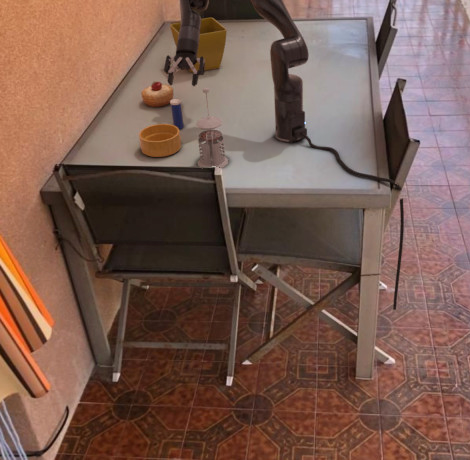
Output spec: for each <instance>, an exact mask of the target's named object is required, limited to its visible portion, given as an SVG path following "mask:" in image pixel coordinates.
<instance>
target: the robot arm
mask: <svg viewBox="0 0 470 460" xmlns="http://www.w3.org/2000/svg"><path fill="white" fill-rule="evenodd" d="M250 2H251V4H252V6H253V9H254V10H255V11H256V12H257V14H258V15H259V16H260V17H262V18H263V19H264V20H266V21H267V22H268V23H270V24H271V25H272V26H273V27H275V28H276V29H277V30H278V31H279V32H280V34H281V35H282V37H283V38H280V39H275V40H273V42H272V43H271V44H270V48H269V49H270V51H269V54H270V55H269V56H270V67H271V78H272V82H273V96H274V99H273V100H274V123H275V124H274V128H275V139H277V140H278V141H281V142H283V143H284V142H285V143H290V144H292V143H295V142H298V141H300V140H302V139H305V140H306V141H307V143H308V145H309V146H310V147H311V148H313V149H315V150H322V151H323V150H324V151H330V152H332V153H334V155H335V157H336V159H337V161H338V162H339V164H340V165H341V166H342V167H343V168H344V169H345V170H346V171H347V172H349V173H351V174H353V175H354V176H358V177H363V178H368V179H373V180H376V181H379V182H386V183H389V184H392V185H393V186H394V187H396V189H397V190H398V191H402V187H401V186H400V185H399V184H398V183H397V184H398V185H397V184H395V183H394V181H395V180H393V179H391V178H386V177H382V176H381V177H380V176H376V175H373V174H367V173H363V172H359V171H357V170H356V171H355V170H353V169H352V168H350V167H349V166H348V165H347V164H346V163H345V162H344V161H343V160H342V159H341V156H340V154H339V152H338V151H337V149H335V148H333V147H330V146H318V145H315V144H313V143H312V140H311V138H310V137H309V136H308V128H307V127H306V112H305V110H304V87H303V86H304V85H303V84H304V83H303V82H304V81H303V79H302V78H301V76H299V75H297V74H292V73H290V72H289V69H292V68H296V67H299V66H300V67H301V66H303V65H305V64H307V62H308V61H309V57H310V56H309V55H310V54H309V48H308V45H307V42H306V41H305V39H304V37H303V35H302V34H301V32H300V30H299V28H298V27H297V25H296V23H295V21H294V20H293V19H292V16H291V14H290V13H289V11H288V8H287V7H286V4H285V2H284V0H250ZM209 3H210V0H179V7H180V14H181V15H180V16H181V20H180V22H181V26H180V31H179V35H178V42H177V47H176V49H175V55H174V56H171V55H168V54H167V55H166V57H165V62H164V66H163V71H164V73H165V74H167V83H168V85H169V86H173V84H174V78H175V76H174V75H175V74H176V73H178V72H179V71H180V70H181V71H184V70H185V71H189V69H192V71H193V72H194V73H192V79H191V86H192V87H196V86H197V85H198V82H199V77H200V76H204V75H205V71H204V69H205V59H204V58H203V57H202V56H201V57H200V58H197V52H198V45H199V38H200V26H201V19H202V17H201V15H200V14H198V13H197V12H199V13H202V12H205V11H206V10H207V9H208V7H209ZM197 61H198V63H199V64H200V65H199V70H198V71H197V70H196V69H195V67H194V65H195V64H196V63H197ZM173 62H174V63H173ZM404 211H405V210H404V197H401V198H400V199H399V213H400V215H399V217H400V227H399V228H400V229H399V247H398V256H397V265H396V272H395V273H396V275H395V281H394V282H395V283H394V284H395V285H394V293H393V304H392V305H393V306H392V309H393V311H396V310H397V301H398V292H399V291H398V290H399V282H400V273H401V266H402V265H401V264H402V255H403V245H404V234H405V233H404V232H405V229H404V228H405V212H404Z"/></svg>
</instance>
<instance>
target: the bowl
mask: <svg viewBox="0 0 470 460" xmlns="http://www.w3.org/2000/svg"><path fill="white" fill-rule="evenodd" d="M180 130H181V129H179V128H178V127H176V126H175V125H174V124H170V123H156V124H152V125H149V126H146V127H144V128H142V129H141V130H140V131H139V133H138V139H139V144H140V145H139V146H140V151H141V153H142V154H144V155H145V156H148V157H154V158H160V157H161V158H162V157H167V156H171V155H174V154H176V153H177V152H178V151H180V149H181V148H182V138H181V131H180Z"/></svg>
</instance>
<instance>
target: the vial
mask: <svg viewBox="0 0 470 460" xmlns="http://www.w3.org/2000/svg"><path fill="white" fill-rule="evenodd" d="M169 104H170V108H171V109H170V110H171V115H172V123H173V124H172V125H175V126H176V127H178V128H179V130H182V129H184V117H183V111H182V100H181V99H180V98H172V100H171V101H170V103H169Z"/></svg>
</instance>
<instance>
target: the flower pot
mask: <svg viewBox="0 0 470 460" xmlns="http://www.w3.org/2000/svg"><path fill="white" fill-rule="evenodd" d="M180 26H181V21H180V22H176V23H170V24H169V27H170V31H171V34H172V38H173V41H174V45H175V47H176V48H177V42H178V35H179V31H180ZM227 30H228V29H227V28H226V27H224V26H223V25H222V23H220V22H219V21H217V19H215V17H214V18H213V17H205V18H201V26H200V38H199V45H198V52H197V58H200V57H201V56H202V57H203V58H204V59H205V69H204V72H205V71H209V70H215V69H219V68H220V67H221V64H222V61H223V57H224V54H225V48H226V40H227V32H228V31H227ZM199 65H200V64H199V63H198V61H197V63H196V64H195V65H194V67H195V69H196V70H197V71H198V70H199ZM188 71H189V72H190V73H191V74H194V72H193V71H192V69H189V70H188Z"/></svg>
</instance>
